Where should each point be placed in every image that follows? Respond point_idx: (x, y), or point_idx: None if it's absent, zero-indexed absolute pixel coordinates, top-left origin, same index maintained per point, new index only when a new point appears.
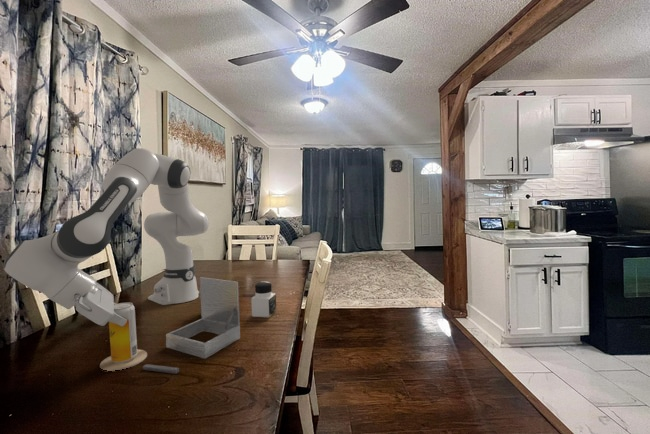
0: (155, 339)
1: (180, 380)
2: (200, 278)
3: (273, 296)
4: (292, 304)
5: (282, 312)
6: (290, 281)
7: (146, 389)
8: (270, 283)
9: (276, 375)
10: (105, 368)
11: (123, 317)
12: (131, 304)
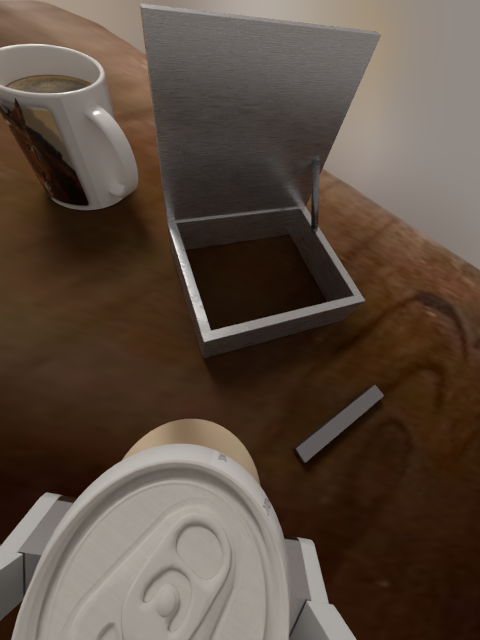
0: (103, 361)
1: (416, 401)
2: (147, 17)
3: None
4: None
5: None
6: (73, 25)
7: (421, 486)
8: None
9: (473, 273)
10: None
11: (291, 574)
12: (168, 468)
